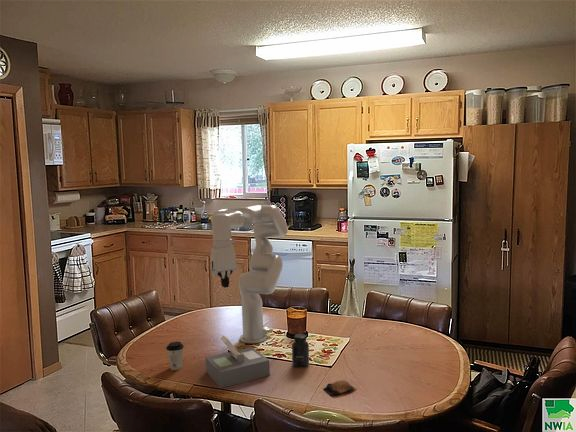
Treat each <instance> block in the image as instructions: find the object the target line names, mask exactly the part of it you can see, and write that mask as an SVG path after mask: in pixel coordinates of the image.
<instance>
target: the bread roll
mask: <svg viewBox="0 0 576 432" xmlns="http://www.w3.org/2000/svg"><path fill="white" fill-rule="evenodd" d="M357 390H358V389H357V388H356V387H354V386H352V385H351V384H350V383H349V381H347V380H344V379H341V380H337V381H334V382H332V383H327V385H326V387H323V388H322V391H324V392H325V393H326V394H327V395H329V396H331V397H332V398H336V397H341V396H344V395H347V394H350V393H353V392H355V391H357Z"/></svg>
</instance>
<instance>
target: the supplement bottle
mask: <svg viewBox="0 0 576 432" xmlns="http://www.w3.org/2000/svg"><path fill="white" fill-rule="evenodd" d="M293 338H294V341H293V342H291V343H292V344H291V363H292V366H294V367H295V368H306V367H307V366H309V365H310V345H309V342H308V341H307V335H306V334H304V333H297V334H295V335H294V337H293Z"/></svg>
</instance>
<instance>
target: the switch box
mask: <svg viewBox="0 0 576 432" xmlns="http://www.w3.org/2000/svg"><path fill="white" fill-rule="evenodd" d="M234 347H235V346H234ZM235 349H236V350H237V347H235ZM237 351H238V352H239V353H240V354H238V355H237V359H236V358H235V357H234V356H232V354H231V351H230V350H229V351H228V352H225V353H221V354H217V355H216V354H215V355H212V356H207V357H205V369H206V371H205V372H206V374H207V375H208V376H209V377H210V378H211V379H212V380H213V382H215V383H216V384H217V385H218V387H219V388H220V389H222V388H227V387H230V386H234V385H237V384H241V383H245V382H248V381H252V380H256V379H260V378H263V377H268V376H271V371H270V370H271V369H270V368H271V367H270V359H268V358H267V357H266V356H264V355H263V354H262V353H260V352H259V351H258V350H257V349H255V348H254V347H252V346H250V347H246V348H241V349H238V350H237Z"/></svg>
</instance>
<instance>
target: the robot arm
mask: <svg viewBox="0 0 576 432" xmlns="http://www.w3.org/2000/svg"><path fill="white" fill-rule="evenodd" d="M285 219H286V218H284V216H283V214H282V212H281V210H280V209H279V208H278V207H277V206H275V205H274V204H273V205H271V204H265V205H264V204H263V205H262V204H257V205H255V204H254V205H250V206H243V207H235V208H225V209H218V210H215V211H214V212H213V213H212V214H211V218H210V221H211V227H212V240H213V247H211V250H210V270H212V271H211V275H213V276H218V277H220V285H221V287H223V288H225V289H226V288H229V287H230V277H231V275H232V274H233V273H235V272H237V267H238V265H237V255H236V251H235V247H234V245H233V243H235V242H236V241H235V238H232V230H235V229H236V230H237V229H240V228H242V227H245V226H252V225H253V228H252V229H253V235H254V239H255V247H254V250H253V253H252V255H251V257H250V260H249V263H248V269H249V271H246V272H243V273H241V274H240V275H239V277H238V288H239V292H240V298H241V316H242V317H241V318H242V321H241V322H242V334H240V336H239V341H241V342H242V343H244V344H259V343H262V342H264V341H266V340H267V339H268V335H267V334H268V333H273V331H274V328H273V327H269V328H268V327H264V313H263V310H264V309H263V300H262V297H261V294H262V295H271V294H273V293H274V292H275V290H276V287H277V284H278V282H279V280H280V278H281V277H280V276H281V274H282V271H283V266H284V265H283V260H282V257H281V256H280V255H278V254H275V253H273V251H274V249H273V248H274V247H273V245H272V243H271V242H270V240H269V239H268V238H283V237H285V236H287V233H288V231H289V230H288V229H289V228H288V224H287V222H286V220H285Z"/></svg>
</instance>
